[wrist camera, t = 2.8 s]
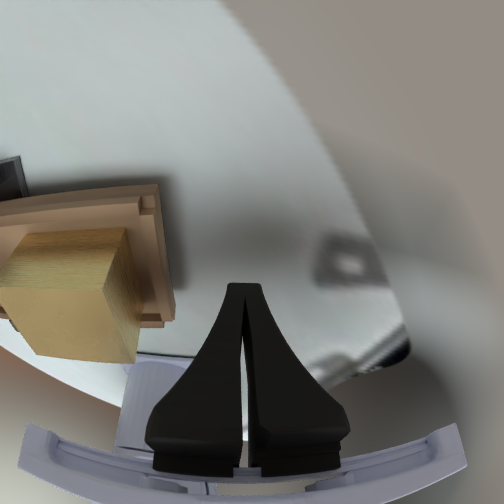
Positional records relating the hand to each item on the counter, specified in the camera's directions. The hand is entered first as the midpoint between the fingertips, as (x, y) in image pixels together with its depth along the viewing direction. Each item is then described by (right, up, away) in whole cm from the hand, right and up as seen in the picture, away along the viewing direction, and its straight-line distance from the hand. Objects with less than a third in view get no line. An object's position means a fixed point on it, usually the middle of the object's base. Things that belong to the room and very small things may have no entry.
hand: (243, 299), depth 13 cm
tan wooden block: (-8, +1, +1) cm, 9 cm away
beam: (-16, +1, 0) cm, 16 cm away
